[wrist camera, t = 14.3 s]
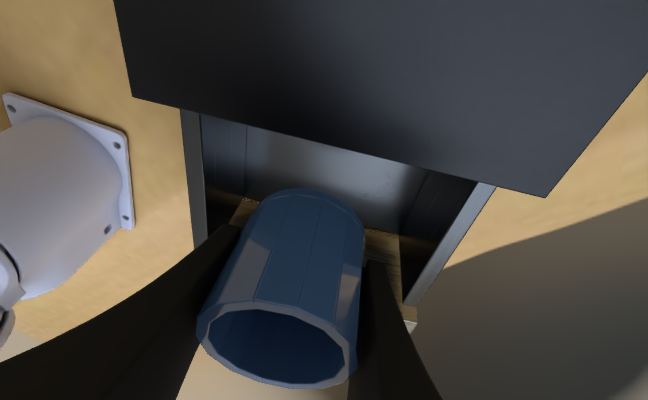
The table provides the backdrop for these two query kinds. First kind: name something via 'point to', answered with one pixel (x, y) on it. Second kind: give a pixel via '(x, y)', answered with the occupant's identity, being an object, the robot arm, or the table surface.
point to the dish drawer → (339, 181)
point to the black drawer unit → (400, 75)
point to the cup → (290, 294)
